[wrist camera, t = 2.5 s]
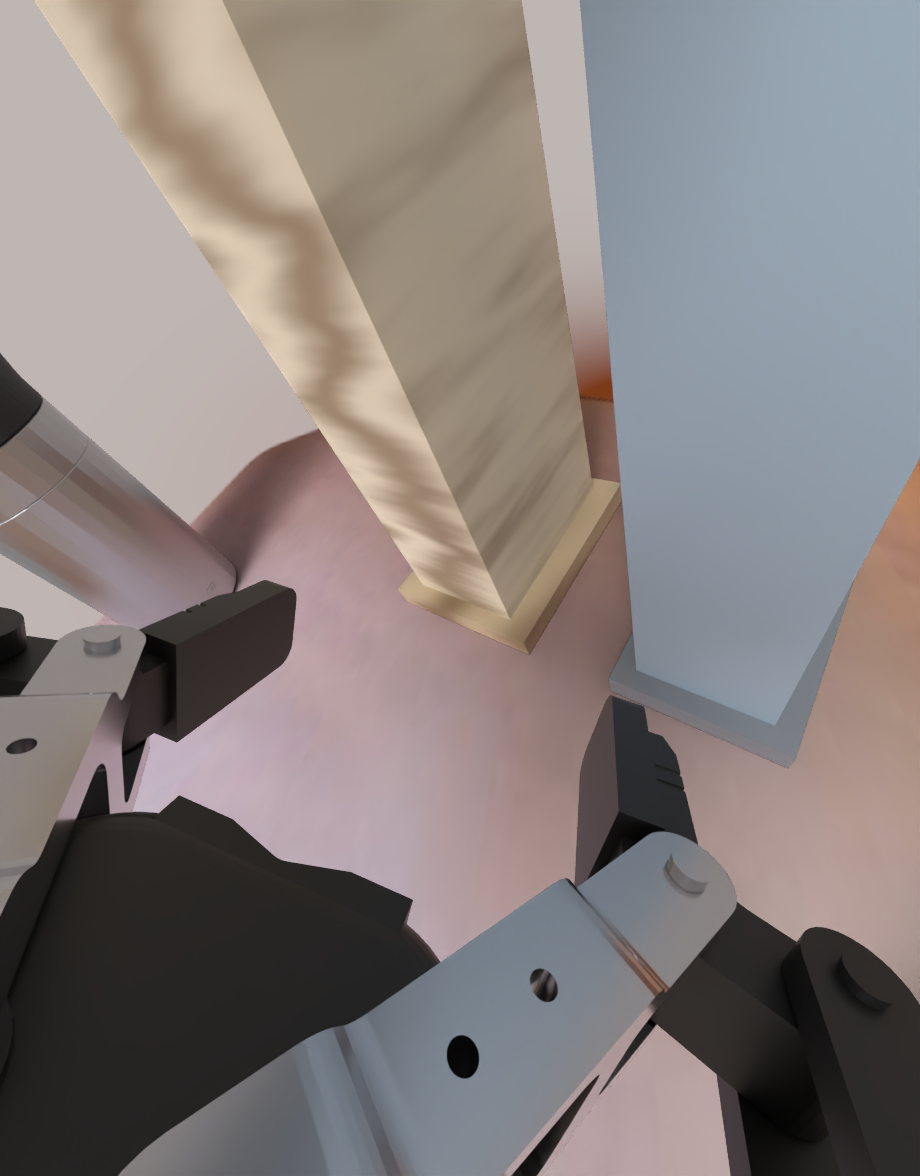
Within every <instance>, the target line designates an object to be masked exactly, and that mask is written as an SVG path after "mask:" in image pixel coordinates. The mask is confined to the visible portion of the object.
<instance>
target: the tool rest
mask: <svg viewBox="0 0 920 1176" xmlns="http://www.w3.org/2000/svg"><path fill="white" fill-rule="evenodd" d="M34 1H35V3H36V4H37V6H38V7H39V9H40V10H41V12H42V13H43V15H44V16H45V18H46V19H47V21H48V22H49V24H50V25H51V27H52V28H53V30H54V31H55V33H56V34H57V36H58V37H59V39H60V40H61V42H62V43H63V45H64V46H65V48H66V49H67V51H68V52H69V54H70V55H71V57H72V58H73V60H74V61H75V63H76V64H77V66H78V67H79V69H80V70H81V72H82V73H83V75H84V76H85V78H86V79H87V81H88V82H89V84H90V85H91V87H92V88H93V90H94V91H95V93H96V94H97V96H98V97H99V99H100V100H101V102H102V103H103V105H104V106H105V108H106V109H107V111H108V112H109V113H110V115H111V117H112V118H113V120H114V121H115V123H116V124H117V126H118V127H119V129H120V130H121V132H122V133H123V135H124V136H125V138H126V140H127V141H128V143H129V144H130V146H131V147H132V149H133V150H134V151H135V153H136V155H137V156H138V157H139V159H140V161H141V162H142V164H143V165H144V167H145V168H146V170H147V171H148V173H149V174H150V176H151V177H152V178H153V180H154V181H155V183H156V184H157V186H158V188H159V189H160V191H161V192H162V194H163V195H164V197H165V198H166V200H167V201H168V203H169V204H170V206H171V207H172V209H173V210H174V212H175V213H176V215H177V216H178V218H179V219H180V221H181V222H182V223H183V225H184V227H185V228H186V230H187V231H188V233H189V234H190V236H191V237H192V239H193V240H194V242H195V243H196V245H197V246H198V248H199V249H200V251H201V252H202V254H203V255H204V257H205V258H206V260H207V261H208V263H209V264H210V266H211V267H212V269H213V270H214V272H215V273H216V275H217V276H218V278H219V279H220V281H221V282H222V284H223V285H224V287H225V288H226V290H227V291H228V293H229V294H230V296H231V297H232V299H233V300H234V302H235V303H236V305H237V306H238V308H239V309H240V311H241V312H242V314H243V315H244V316H245V318H246V320H247V321H248V323H249V324H250V326H251V327H252V329H253V330H254V332H255V333H256V335H257V336H258V338H259V339H260V341H261V342H262V344H263V345H264V347H265V348H266V350H267V351H268V353H269V354H270V356H271V357H272V359H273V360H274V362H275V363H276V365H277V366H278V368H279V369H280V371H281V372H282V374H283V375H284V377H285V378H286V380H287V381H288V382H289V384H290V386H291V387H292V389H293V390H294V392H295V393H296V395H297V396H298V398H299V399H300V401H301V402H302V404H303V405H304V407H305V408H306V410H307V411H308V413H309V414H310V416H311V417H312V419H313V420H314V422H315V423H316V425H317V426H318V428H319V429H320V431H321V432H322V434H323V436H324V437H325V439H326V440H327V442H328V443H329V445H330V446H331V448H332V449H333V451H334V452H335V454H336V455H337V457H338V458H339V460H340V461H341V463H342V464H343V466H344V467H345V469H346V470H347V472H348V473H349V475H350V476H351V478H352V479H353V481H354V482H355V484H356V485H357V487H358V488H359V490H360V491H361V493H362V494H363V496H364V497H365V499H366V500H367V502H368V503H369V505H370V506H371V508H372V509H373V511H374V512H375V514H376V515H377V517H378V518H379V520H380V521H381V523H382V524H383V526H384V527H385V529H386V530H387V532H388V533H389V535H390V536H391V538H392V539H393V541H394V542H395V544H396V545H397V547H398V548H399V550H400V551H401V553H402V554H403V556H404V557H405V559H406V560H407V562H408V563H409V565H410V566H411V568H412V569H413V571H412V572H411V573H410V574H409V576H408V577H407V578H406V580H405V581H404V582H403V584H402V585H401V586H400V588H399V589H398V590H399V591H400V592H401V594H402V595H403V596H404V598H405V599H406V601H407V602H410V603H412V604H414V605H416V606H419V607H421V608H423V609H426V610H428V611H430V612H432V613H435V614H437V615H439V616H442V617H444V618H446V619H448V620H451V621H453V622H455V623H458V624H460V625H462V626H464V627H467V628H469V629H471V630H473V631H476V632H478V633H480V634H483V635H485V636H487V637H489V638H492V639H494V640H496V641H499V642H501V643H503V644H505V645H508V646H510V647H512V648H515V649H517V650H519V651H521V652H524V653H526V654H528V655H530V653H531V651H532V650H533V648H534V646H535V645H536V643H537V641H538V640H539V638H540V636H541V635H542V633H543V631H544V630H545V628H546V626H547V625H548V623H549V621H550V620H551V618H552V616H553V614H554V613H555V611H556V609H557V608H558V606H559V604H560V603H561V601H562V599H563V598H564V596H565V594H566V593H567V591H568V589H569V588H570V586H571V584H572V583H573V581H574V579H575V578H576V576H577V574H578V573H579V571H580V569H581V568H582V566H583V564H584V563H585V561H586V559H587V558H588V556H589V554H590V553H591V551H592V549H593V548H594V546H595V544H596V543H597V541H598V539H599V538H600V536H601V534H602V533H603V531H604V529H605V528H606V526H607V524H608V523H609V521H610V519H611V518H612V516H613V514H614V513H615V511H616V509H617V508H618V506H619V504H620V503H621V501H622V494H621V483H618V482H613V481H607V480H602V479H596V478H591V471H590V465H589V458H588V451H587V444H586V437H585V430H584V424H583V417H582V410H581V403H580V396H579V389H578V383H577V376H576V370H575V362H574V356H573V348H572V342H571V335H570V328H569V322H568V314H567V308H566V301H565V294H564V287H563V280H562V274H561V267H560V260H559V253H558V246H557V239H556V232H555V226H554V219H553V213H552V205H551V199H550V192H549V185H548V178H547V171H546V165H545V158H544V150H543V144H542V137H541V130H540V123H539V116H538V110H537V103H536V96H535V89H534V83H533V75H532V68H531V62H530V55H529V49H528V41H527V34H526V29H525V21H524V15H523V7H522V0H34Z"/></svg>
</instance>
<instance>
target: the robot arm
mask: <svg viewBox="0 0 920 1176" xmlns="http://www.w3.org/2000/svg"><path fill="white" fill-rule="evenodd" d="M0 554H2V555H3V556H5V557H7V558H8V559H10V560H12V561H14V562H15V563H17V564H19V565H21V566H22V567H24V568H25V569H27V570H29V571H31V572H32V573H34V574H36V575H37V576H39V577H41V578H42V579H44V580H46V581H48V582H49V583H51V584H53V585H54V586H56V587H58V588H59V589H61V590H63V591H64V592H66V593H68V594H70V595H71V596H73V597H75V598H77V599H78V600H80V601H81V602H83V603H85V604H87V605H88V606H90V607H92V608H93V609H95V610H97V611H98V612H100V613H102V614H104V615H105V616H107V617H109V618H110V619H112V620H113V621H115V622H117V623H118V624H120V625H99V626H91V627H86V628H82V629H79V630H76V631H73V632H71V633H69V634H67V635H65V636H63V637H62V638H60V639H59V640H52V639H45V638H38V637H31V636H26V631H25V623H24V617H23V616H22V615H21V614H20V613H19V612H17V611H15V610H12V609H8V608H1V607H0V1176H542V1175H543V1174H544V1173H545V1171H546V1170H547V1169H548V1168H549V1166H550V1165H551V1164H552V1162H553V1161H554V1160H555V1158H556V1157H557V1156H558V1154H559V1153H560V1152H561V1151H562V1149H563V1148H564V1146H565V1145H566V1144H567V1142H568V1141H569V1140H570V1138H571V1137H572V1135H573V1134H574V1133H575V1131H576V1130H577V1128H578V1127H579V1126H580V1124H581V1123H582V1122H583V1120H584V1119H585V1118H586V1116H587V1115H588V1114H589V1112H590V1111H591V1110H592V1108H593V1107H594V1106H595V1105H596V1103H597V1102H598V1101H599V1100H600V1098H601V1097H602V1096H603V1095H604V1093H605V1092H606V1091H607V1090H608V1088H609V1087H610V1086H611V1085H612V1083H613V1082H614V1081H615V1080H616V1078H617V1077H618V1076H619V1075H620V1073H621V1072H622V1071H623V1070H624V1068H625V1067H626V1066H627V1065H628V1063H629V1062H630V1061H631V1060H632V1058H633V1057H634V1056H635V1055H636V1053H637V1052H638V1051H639V1050H640V1048H641V1047H642V1046H643V1045H644V1043H645V1042H646V1041H647V1040H648V1039H649V1037H650V1036H651V1035H652V1034H653V1032H654V1031H655V1030H656V1029H657V1027H658V1026H660V1027H661V1028H662V1029H663V1030H664V1031H666V1032H667V1033H668V1034H669V1035H670V1036H672V1037H673V1038H674V1039H675V1040H676V1041H678V1042H679V1043H680V1044H681V1045H682V1046H684V1047H685V1048H686V1049H687V1050H688V1051H690V1052H691V1053H692V1054H693V1055H694V1056H696V1057H697V1058H698V1059H699V1060H700V1061H702V1062H703V1063H704V1064H705V1065H706V1066H708V1067H709V1068H710V1069H711V1070H712V1071H714V1072H715V1073H716V1074H717V1080H718V1087H719V1095H720V1102H721V1109H722V1116H723V1123H724V1130H725V1138H726V1145H727V1152H728V1159H729V1166H730V1173H731V1176H920V1005H919V1003H918V1001H917V1000H916V998H915V997H914V996H913V994H912V993H911V991H910V990H909V989H908V988H907V986H906V985H905V984H904V983H903V982H902V980H901V979H900V978H899V977H898V976H897V975H896V974H895V973H894V972H893V971H892V970H891V969H890V968H889V967H888V966H887V965H886V964H885V963H884V962H883V961H882V960H881V959H879V958H878V957H877V956H876V955H874V954H873V953H872V952H871V951H869V950H868V949H867V948H865V947H864V946H862V945H861V944H859V943H858V942H856V941H854V940H853V939H851V938H849V937H847V936H845V935H843V934H841V933H839V932H837V931H834V930H831V929H827V928H823V927H814V928H809V929H808V930H806V931H805V932H804V933H803V934H802V936H801V937H800V938H799V940H798V941H797V942H796V941H794V940H793V939H791V938H790V937H788V936H787V935H785V934H783V933H782V932H780V931H779V930H777V929H776V928H774V927H773V926H771V925H770V924H768V923H767V922H765V921H764V920H762V919H761V918H759V917H757V916H756V915H754V914H753V913H751V912H750V911H749V910H747V909H746V908H744V907H743V906H742V905H740V904H739V903H738V902H737V896H736V892H735V888H734V886H733V884H732V881H731V879H730V878H729V876H728V874H727V873H726V872H725V870H724V869H723V868H722V866H721V865H720V864H719V863H718V862H717V861H716V860H715V859H714V858H713V857H712V856H711V855H710V854H709V853H708V852H707V851H705V850H704V849H703V848H702V847H700V846H699V845H698V842H697V838H696V834H695V830H694V826H693V822H692V818H691V814H690V810H689V806H688V802H687V798H686V794H685V792H684V791H683V790H684V785H683V781H682V777H681V776H680V769H679V765H678V761H677V757H676V754H675V753H674V752H673V750H672V749H671V747H670V746H669V745H668V743H667V742H666V741H665V739H664V738H663V736H660V735H657V734H654V733H651V732H648V726H647V720H646V715H645V709H644V707H643V706H641V705H638V704H635V703H632V702H629V701H626V700H623V699H620V698H617V697H614V696H609V697H608V699H607V700H606V702H605V705H604V707H603V709H602V712H601V714H600V717H599V719H598V722H597V724H596V727H595V729H594V732H593V734H592V737H591V739H590V742H589V744H588V747H587V749H586V752H585V755H584V758H583V762H582V767H581V772H580V785H579V806H578V827H577V847H576V868H575V885H574V884H573V883H572V882H571V881H570V879H562V880H559V881H557V882H556V883H554V884H552V885H551V886H550V887H548V888H547V889H545V890H544V891H542V892H541V893H539V894H538V895H537V896H535V897H534V898H532V899H531V900H529V901H528V902H527V903H525V904H524V905H522V906H521V907H519V908H518V909H516V910H515V911H514V912H512V913H511V914H509V915H508V916H506V917H505V918H504V919H502V920H501V921H499V922H498V923H496V924H495V925H493V926H492V927H491V928H489V929H488V930H486V931H485V932H483V933H482V934H480V935H479V936H478V937H476V938H475V939H473V940H472V941H470V942H469V943H468V944H466V945H465V946H463V947H462V948H460V949H459V950H457V951H456V952H455V953H453V954H452V955H450V956H449V957H447V958H446V959H445V960H443V961H442V962H440V961H439V959H438V958H437V956H436V955H435V954H434V952H433V951H432V949H431V948H430V947H429V946H428V945H427V944H426V943H425V941H424V940H423V939H422V938H421V937H420V936H419V935H418V934H417V933H416V932H415V931H414V930H413V929H412V928H410V927H409V926H408V925H407V920H408V916H409V913H410V909H411V905H412V902H413V900H412V899H410V898H407V897H405V896H403V895H401V894H399V893H396V892H394V891H392V890H390V889H387V888H385V887H383V886H381V885H378V884H376V883H374V882H372V881H369V880H367V879H365V878H363V877H361V876H358V875H356V874H354V873H352V872H346V871H340V870H334V869H328V868H322V867H316V866H310V865H304V864H298V863H292V862H287V861H283V860H280V859H278V858H276V857H275V856H274V855H273V854H271V853H270V852H269V851H268V850H267V849H266V848H265V847H263V846H262V845H261V844H260V843H259V842H258V841H257V840H255V839H254V838H253V837H252V836H251V835H250V834H249V833H248V832H246V831H245V830H244V829H243V828H242V827H241V826H240V825H238V824H237V823H236V822H235V821H234V820H233V819H231V818H229V817H226V816H224V815H222V814H220V813H217V812H215V811H213V810H211V809H208V808H206V807H204V806H202V805H200V804H197V803H195V802H193V801H191V800H188V799H186V798H184V797H182V796H178V797H177V798H176V799H175V800H174V801H172V802H171V803H170V804H169V805H168V806H167V807H166V808H164V809H163V810H162V811H161V812H160V813H149V812H133V808H134V804H135V801H136V797H137V794H138V790H139V786H140V783H141V779H142V776H143V772H144V768H145V765H146V761H147V758H148V754H149V749H150V744H149V736H150V735H152V734H153V733H156V734H158V735H160V736H163V737H165V738H168V739H170V740H172V741H175V742H178V741H180V740H181V739H182V738H184V737H185V736H186V735H188V734H189V733H190V732H192V731H193V730H194V729H196V728H197V727H199V726H200V725H201V724H203V723H204V722H205V721H207V720H208V719H209V718H211V717H212V716H213V715H215V714H216V713H217V712H219V711H220V710H221V709H223V708H224V707H226V706H227V705H228V704H230V703H231V702H232V701H234V700H235V699H236V698H238V697H239V696H240V695H242V694H243V693H244V692H246V691H247V690H249V689H250V688H251V687H253V686H254V685H255V684H257V683H258V682H259V681H261V680H262V679H263V678H265V677H266V676H267V675H269V674H270V673H272V672H273V671H274V670H276V669H277V668H278V667H280V666H281V665H282V664H283V663H284V661H285V660H286V658H287V657H288V655H289V652H290V650H291V646H292V640H293V630H294V620H295V610H296V593H295V591H294V590H293V589H291V588H288V587H285V586H282V585H279V584H276V583H273V582H270V581H267V580H263V581H261V582H258V583H256V584H254V585H252V586H249V587H247V588H245V589H243V590H240V591H238V592H233V590H234V586H235V582H236V571H235V568H234V566H233V565H232V563H231V562H230V561H229V560H227V559H226V558H225V557H224V556H223V555H222V554H221V553H220V552H218V551H217V550H216V549H215V548H214V547H213V546H212V545H210V544H209V543H208V542H207V541H206V540H205V539H204V538H202V537H201V536H200V535H199V534H198V533H197V532H196V531H195V530H194V529H193V528H191V527H190V526H189V525H188V524H187V523H186V522H185V521H183V520H182V519H181V518H180V517H179V516H178V515H177V514H176V513H174V512H173V511H172V510H171V509H170V508H169V507H167V506H166V505H165V504H164V503H163V502H162V501H161V500H160V499H158V498H157V497H156V496H155V495H154V494H153V493H152V492H150V491H149V490H148V489H147V488H146V487H145V486H144V485H143V484H141V483H140V482H139V481H138V480H137V479H136V478H135V477H133V476H132V475H131V474H130V473H129V472H128V471H127V470H125V469H124V468H123V467H122V466H121V465H120V464H119V463H118V462H116V461H115V460H114V459H113V458H112V457H110V455H108V454H107V453H106V452H105V451H104V450H103V449H102V448H100V447H99V446H98V445H97V444H96V443H95V442H94V441H92V440H91V439H90V438H89V437H88V436H86V435H85V434H84V433H83V432H82V431H81V430H79V429H78V428H77V427H76V426H75V425H74V424H73V423H71V421H69V420H68V419H67V418H66V417H65V416H64V415H62V414H61V413H60V412H59V411H58V410H57V409H56V408H55V407H54V406H52V405H51V404H50V403H49V402H48V401H46V399H44V398H43V397H42V396H41V395H40V394H39V393H38V392H37V391H36V390H35V389H33V388H32V387H31V386H30V385H29V384H28V383H27V382H26V381H24V380H23V379H22V378H21V377H20V376H19V374H18V373H17V372H16V371H15V370H14V369H13V368H12V367H11V365H10V364H9V363H8V362H7V361H6V359H5V358H4V357H3V356H2V355H1V354H0ZM232 592H233V593H232Z"/></svg>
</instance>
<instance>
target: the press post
mask: <svg viewBox="0 0 920 1176" xmlns="http://www.w3.org/2000/svg"><path fill="white" fill-rule="evenodd" d="M580 8H581V19H582V31H583V43H584V55H585V67H586V79H587V91H588V102H589V115H590V126H591V138H592V150H593V162H594V172H595V173H594V174H595V186H596V196H597V209H598V221H599V233H600V245H601V257H602V268H603V280H604V293H605V304H606V316H607V328H608V340H609V351H610V364H611V376H612V387H613V399H614V411H615V423H616V435H617V447H618V459H619V470H620V482H621V494H622V506H623V518H624V530H625V542H626V553H627V565H628V577H629V589H630V601H631V613H632V625H633V632H632V634H631V636H630V638H629V640H628V642H627V644H626V646H625V648H624V650H623V652H622V654H621V656H620V658H619V659H618V661H617V663H616V665H615V667H614V669H613V671H612V673H611V675H610V677H609V684H610V689H611V691H613V692H615V693H617V694H619V695H622V696H624V697H626V698H629V699H631V700H633V701H635V702H638V703H640V704H642V705H644V706H647V707H649V708H651V709H654V710H656V711H658V712H660V713H663V714H665V715H667V716H670V717H672V718H674V719H676V720H679V721H681V722H683V723H686V724H688V725H690V726H692V727H695V728H697V729H699V730H701V731H704V732H706V733H708V734H711V735H713V736H715V737H717V738H720V739H722V740H724V741H727V742H729V743H731V744H733V745H736V746H738V747H740V748H743V749H745V750H747V751H749V752H752V753H754V754H756V755H758V756H761V757H763V758H765V759H768V760H770V761H772V762H774V763H777V764H779V765H781V766H784V767H786V768H789V766H790V765H791V764H792V762H793V761H794V760H795V758H796V755H797V752H798V749H799V746H800V743H801V740H802V737H803V734H804V731H805V728H806V725H807V722H808V719H809V716H810V713H811V710H812V707H813V704H814V701H815V697H816V694H817V691H818V688H819V685H820V682H821V679H822V676H823V673H824V670H825V667H826V664H827V661H828V658H829V655H830V652H831V649H832V646H833V642H834V639H835V636H836V633H837V630H838V627H839V624H840V621H841V618H842V615H843V612H844V609H845V606H846V603H847V600H848V597H849V594H850V591H851V588H852V584H853V581H854V579H855V577H856V575H857V573H858V571H859V569H860V568H861V566H862V564H863V562H864V560H865V558H866V556H867V555H868V553H869V551H870V549H871V547H872V545H873V544H874V542H875V540H876V538H877V536H878V534H879V532H880V531H881V529H882V527H883V525H884V523H885V521H886V520H887V518H888V516H889V514H890V512H891V510H892V508H893V507H894V505H895V503H896V501H897V499H898V497H899V495H900V494H901V492H902V490H903V488H904V486H905V484H906V483H907V481H908V479H909V477H910V475H911V473H912V471H913V470H914V468H915V466H916V464H917V462H918V460H919V459H920V0H580Z"/></svg>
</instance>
